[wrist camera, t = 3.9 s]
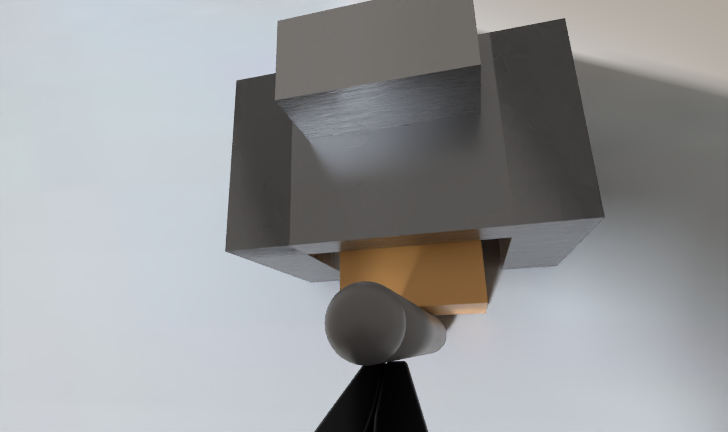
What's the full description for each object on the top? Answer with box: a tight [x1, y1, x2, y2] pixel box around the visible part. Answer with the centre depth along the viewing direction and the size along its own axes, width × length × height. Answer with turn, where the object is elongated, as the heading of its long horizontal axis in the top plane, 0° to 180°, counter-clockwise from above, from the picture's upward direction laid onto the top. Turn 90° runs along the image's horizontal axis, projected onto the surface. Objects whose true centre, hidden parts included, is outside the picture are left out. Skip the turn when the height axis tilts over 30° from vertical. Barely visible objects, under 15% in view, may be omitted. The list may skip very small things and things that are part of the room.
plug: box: [325, 240, 488, 366], centre depth 12 cm, size 6×4×11 cm
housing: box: [225, 0, 604, 282], centre depth 14 cm, size 6×10×9 cm, turn 92°
